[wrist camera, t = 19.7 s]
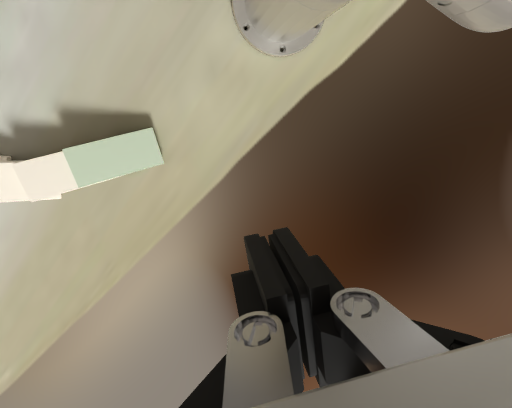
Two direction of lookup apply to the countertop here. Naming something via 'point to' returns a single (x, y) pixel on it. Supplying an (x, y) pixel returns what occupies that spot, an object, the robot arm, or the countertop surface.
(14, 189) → the domino
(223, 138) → the countertop surface
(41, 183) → the domino
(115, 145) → the domino
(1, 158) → the domino
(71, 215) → the countertop surface
